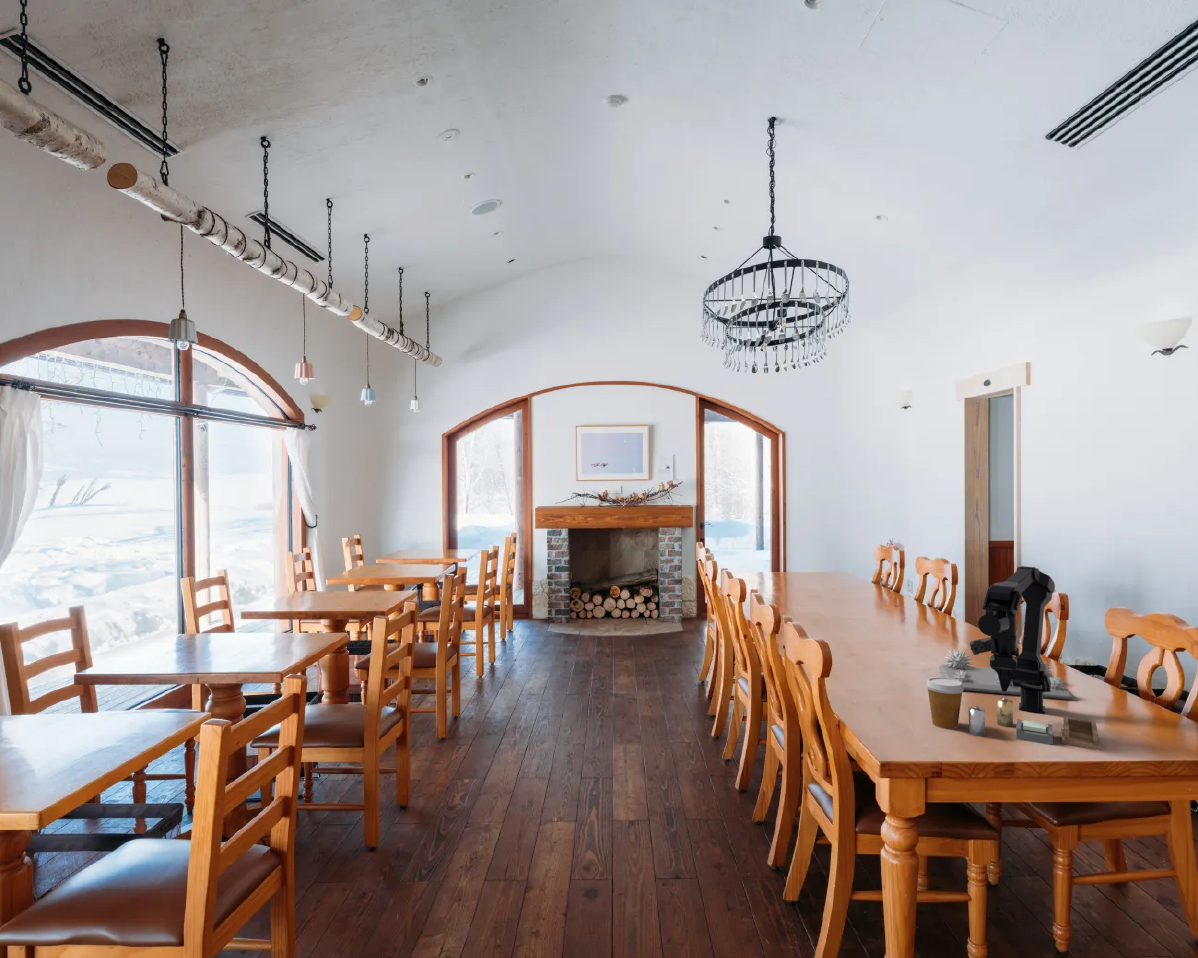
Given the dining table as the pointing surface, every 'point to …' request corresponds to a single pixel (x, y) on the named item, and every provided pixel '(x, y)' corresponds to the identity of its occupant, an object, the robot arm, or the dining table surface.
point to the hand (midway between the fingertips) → (1005, 686)
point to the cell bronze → (1005, 712)
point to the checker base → (1034, 734)
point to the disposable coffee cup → (945, 701)
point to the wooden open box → (1080, 734)
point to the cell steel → (976, 721)
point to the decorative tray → (992, 678)
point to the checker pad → (1034, 726)
